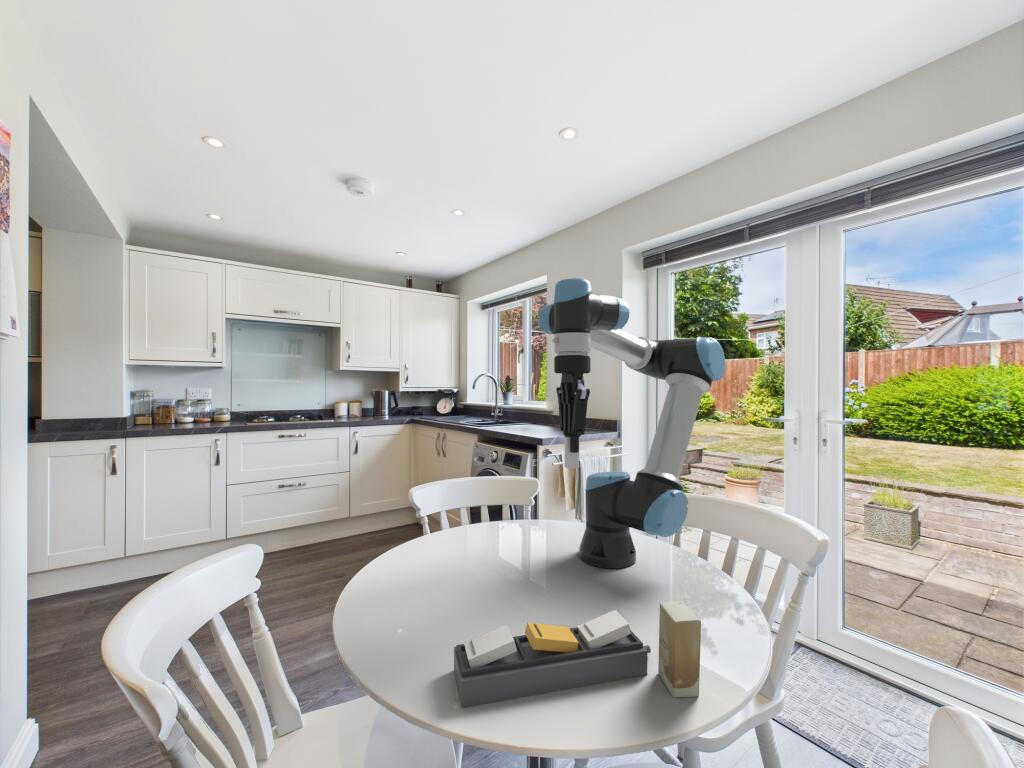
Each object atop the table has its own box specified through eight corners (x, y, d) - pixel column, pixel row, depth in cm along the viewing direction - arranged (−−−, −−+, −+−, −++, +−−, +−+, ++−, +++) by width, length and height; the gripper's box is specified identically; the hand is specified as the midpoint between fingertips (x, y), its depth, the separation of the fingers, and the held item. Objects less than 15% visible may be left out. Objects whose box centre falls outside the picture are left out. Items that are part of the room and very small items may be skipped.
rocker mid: (565, 637, 80) (568, 625, 80) (576, 653, 75) (578, 641, 75) (524, 632, 78) (527, 621, 78) (533, 649, 74) (535, 636, 74)
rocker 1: (509, 634, 78) (506, 623, 77) (517, 651, 73) (514, 639, 73) (466, 652, 76) (463, 641, 76) (471, 670, 71) (467, 658, 71)
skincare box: (657, 672, 77) (657, 600, 77) (682, 671, 77) (683, 599, 77) (674, 699, 70) (674, 621, 70) (701, 698, 71) (702, 619, 71)
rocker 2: (617, 618, 82) (615, 608, 82) (631, 633, 78) (628, 622, 78) (579, 635, 81) (576, 624, 81) (591, 651, 76) (588, 640, 76)
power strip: (635, 641, 86) (636, 616, 86) (663, 671, 77) (663, 643, 77) (453, 670, 77) (453, 642, 77) (461, 707, 69) (461, 676, 69)
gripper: (545, 355, 101) (545, 462, 102) (566, 353, 89) (566, 474, 89) (577, 356, 103) (576, 460, 104) (602, 353, 91) (601, 472, 91)
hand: (571, 467), depth 96 cm, fingers closed
